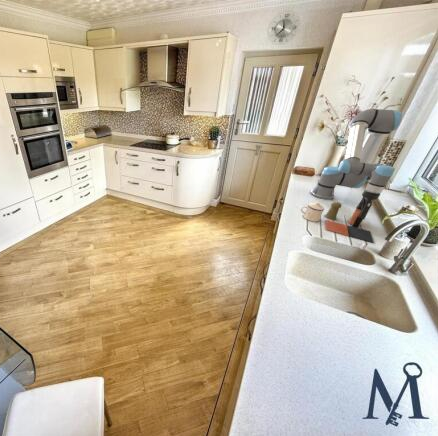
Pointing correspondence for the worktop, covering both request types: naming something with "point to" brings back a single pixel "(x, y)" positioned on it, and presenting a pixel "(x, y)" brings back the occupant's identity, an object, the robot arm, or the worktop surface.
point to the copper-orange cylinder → (354, 217)
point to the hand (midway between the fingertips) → (354, 223)
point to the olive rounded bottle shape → (333, 211)
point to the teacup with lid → (313, 211)
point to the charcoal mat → (360, 234)
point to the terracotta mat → (337, 227)
